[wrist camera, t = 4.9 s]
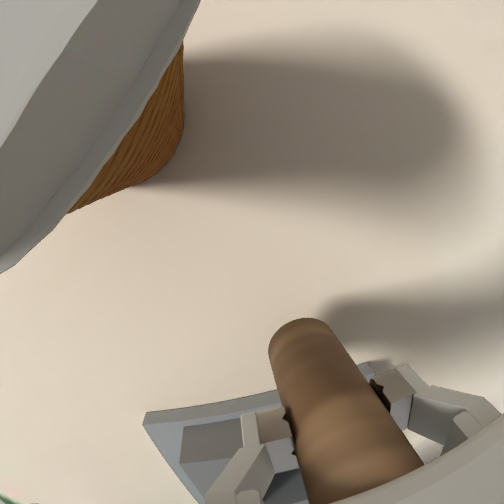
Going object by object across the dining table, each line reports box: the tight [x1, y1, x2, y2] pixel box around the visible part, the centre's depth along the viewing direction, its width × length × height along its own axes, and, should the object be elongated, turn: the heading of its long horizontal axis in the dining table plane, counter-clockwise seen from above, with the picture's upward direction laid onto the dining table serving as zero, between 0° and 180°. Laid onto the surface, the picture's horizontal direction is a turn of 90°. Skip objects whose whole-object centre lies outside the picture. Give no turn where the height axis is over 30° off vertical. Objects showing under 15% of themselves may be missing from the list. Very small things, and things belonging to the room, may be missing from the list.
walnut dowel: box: [268, 318, 424, 504], centre depth 8 cm, size 3×3×11 cm
